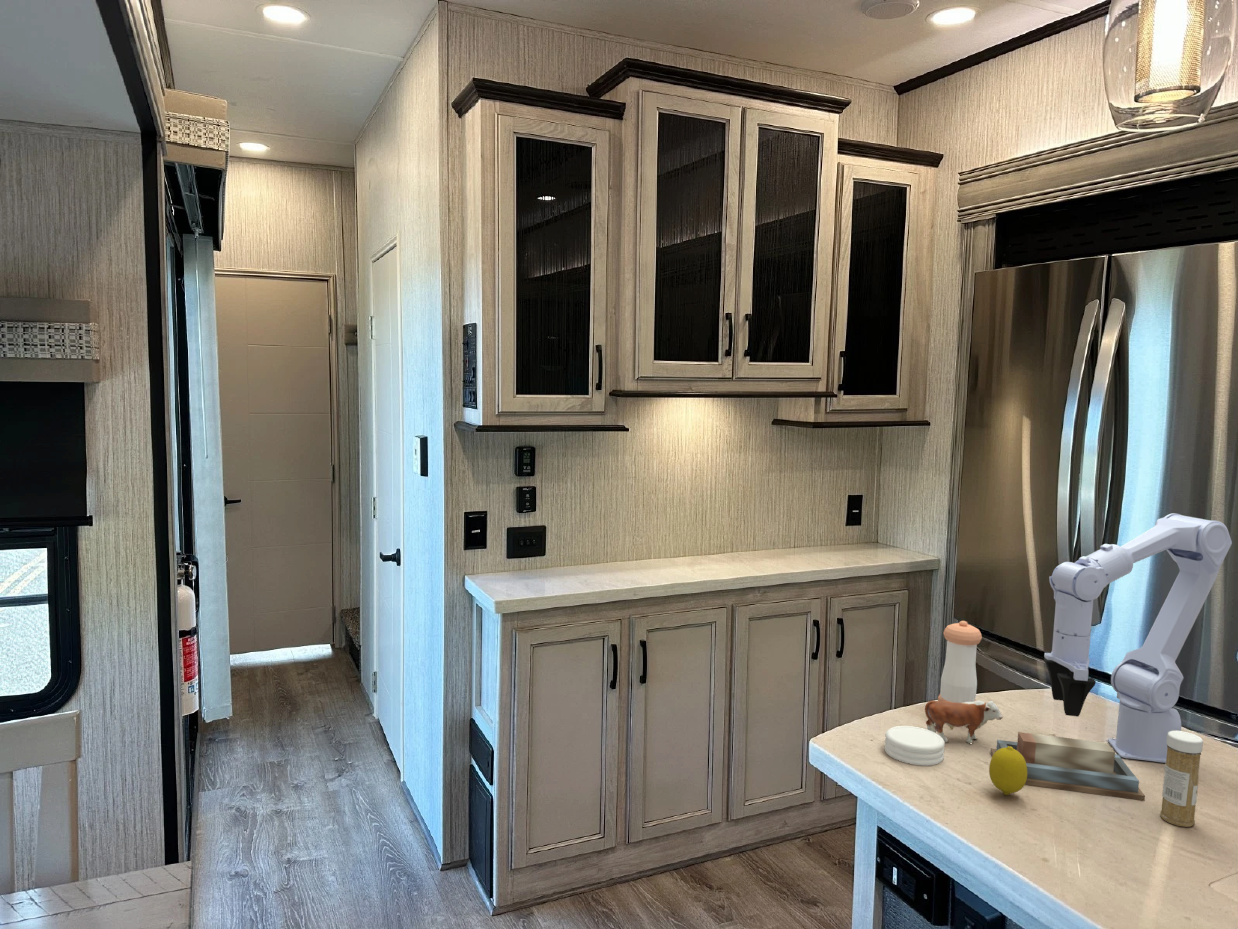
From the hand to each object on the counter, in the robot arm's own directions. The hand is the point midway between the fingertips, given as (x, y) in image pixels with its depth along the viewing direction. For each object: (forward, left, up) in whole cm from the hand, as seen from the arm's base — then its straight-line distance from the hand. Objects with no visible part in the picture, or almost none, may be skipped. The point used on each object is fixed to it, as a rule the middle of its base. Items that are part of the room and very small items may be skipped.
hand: (1065, 707), depth 153 cm
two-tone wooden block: (+2, +8, -9) cm, 11 cm away
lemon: (+12, +19, -10) cm, 24 cm away
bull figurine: (+16, -2, -10) cm, 19 cm away
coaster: (+25, +7, -10) cm, 28 cm away
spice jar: (-12, +19, -10) cm, 24 cm away
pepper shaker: (+15, -15, -10) cm, 24 cm away
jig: (+1, +8, -9) cm, 12 cm away
